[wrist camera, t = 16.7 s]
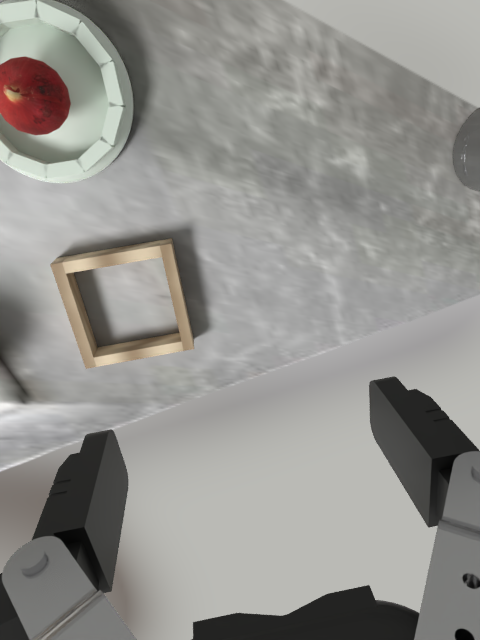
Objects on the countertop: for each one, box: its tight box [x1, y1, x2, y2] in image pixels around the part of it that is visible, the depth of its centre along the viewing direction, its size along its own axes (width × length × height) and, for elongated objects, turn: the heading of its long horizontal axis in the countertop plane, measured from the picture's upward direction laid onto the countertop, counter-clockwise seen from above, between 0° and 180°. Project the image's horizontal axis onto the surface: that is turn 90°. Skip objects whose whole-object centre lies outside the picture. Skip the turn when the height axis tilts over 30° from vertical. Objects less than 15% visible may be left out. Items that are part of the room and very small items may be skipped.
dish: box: [0, 0, 134, 183], centre depth 39 cm, size 15×15×3 cm
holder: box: [50, 238, 194, 369], centre depth 48 cm, size 12×12×2 cm
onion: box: [0, 56, 71, 135], centre depth 36 cm, size 6×6×8 cm
